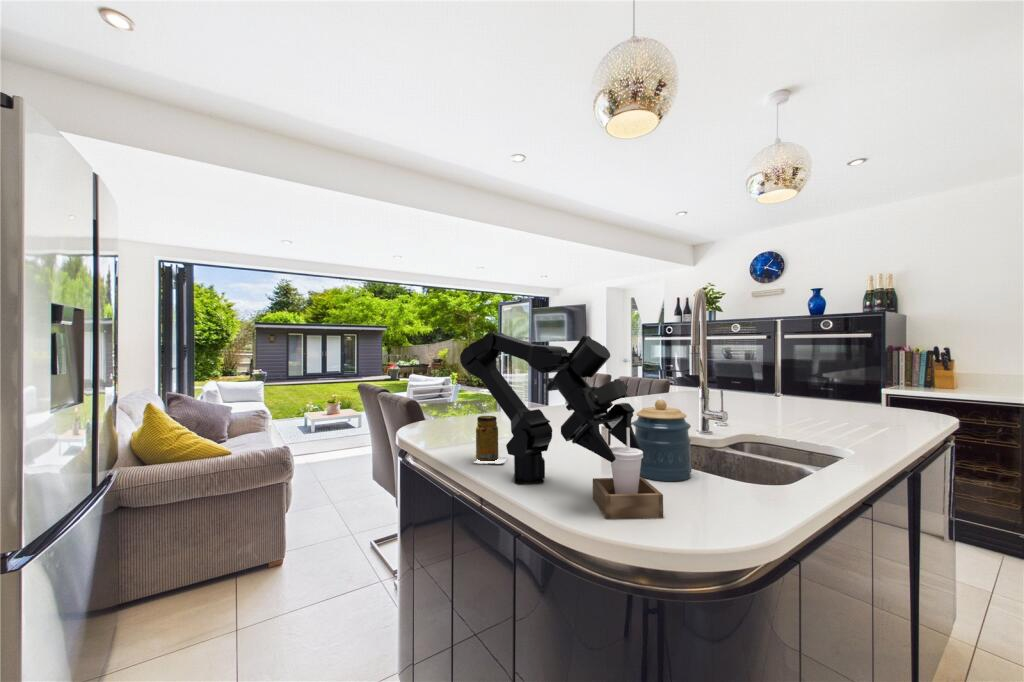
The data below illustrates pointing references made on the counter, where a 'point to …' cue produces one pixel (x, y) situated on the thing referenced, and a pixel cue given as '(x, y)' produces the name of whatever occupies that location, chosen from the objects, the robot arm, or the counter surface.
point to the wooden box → (627, 500)
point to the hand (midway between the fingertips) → (626, 456)
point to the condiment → (487, 438)
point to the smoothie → (626, 468)
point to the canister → (663, 443)
